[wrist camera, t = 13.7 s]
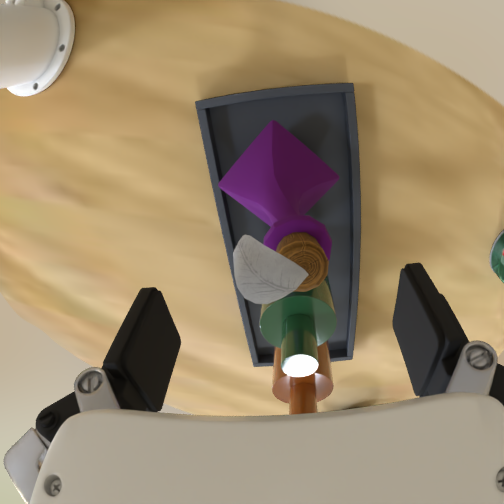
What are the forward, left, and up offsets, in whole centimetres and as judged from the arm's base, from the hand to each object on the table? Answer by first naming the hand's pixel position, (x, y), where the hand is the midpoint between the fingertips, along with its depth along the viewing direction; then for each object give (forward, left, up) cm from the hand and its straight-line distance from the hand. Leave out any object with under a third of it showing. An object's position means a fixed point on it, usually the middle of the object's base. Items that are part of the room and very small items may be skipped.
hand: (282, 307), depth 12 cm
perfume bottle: (0, 0, -20) cm, 20 cm away
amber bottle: (+18, 0, -19) cm, 27 cm away
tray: (+9, 0, -20) cm, 22 cm away
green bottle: (+9, 0, -19) cm, 22 cm away
